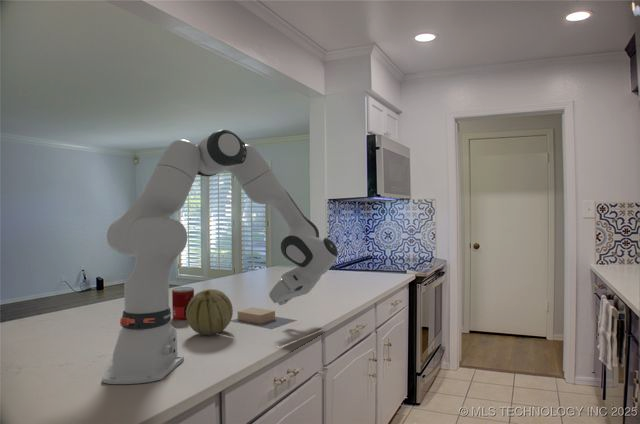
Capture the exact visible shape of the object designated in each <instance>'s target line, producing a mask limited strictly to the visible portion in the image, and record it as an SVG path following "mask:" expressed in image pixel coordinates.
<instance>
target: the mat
mask: <svg viewBox="0 0 640 424" xmlns="http://www.w3.org/2000/svg"><path fill="white" fill-rule="evenodd" d="M296 321H297V320H296V319H291V318H287V317H279V316H275V319H274V320H271V321H268V322H265V323H262V324H258V323H253V322H248V321H242V320H238V318H234V319H231V321H230V323H238V324H243V325H246V326H247V325H249V326H253V327H258V328H263V329H270V330H274V329H276V328H279V327H282V326H285V325H287V324H290V323H294V322H296Z"/></svg>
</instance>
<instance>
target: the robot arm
mask: <svg viewBox="0 0 640 424" xmlns="http://www.w3.org/2000/svg"><path fill="white" fill-rule="evenodd" d="M224 171H228V172H229V173H231V174H232V175H233V176H234V177H235V178H236V180H237V182H238V183H239V186H240V187H241V189H242V190H243V192H244V194H245V195H246V196H247V197H248V199H250V201H252V202H254V203H256V204H259V205H269V206H273V208H275V209H276V210H277V211H278V213H279V215H280V216H282V218H283V220H284V221H285V223H286V224H287V225H288V228H289V231H288V233H287V234H286V235H285V237H283V239H282V240H281V242H280V251H281V254H282V256H283V257H284V258H285V259H286V260H288V261H289V262H290V263H293V264H294V265H295V266H294V267H293V268H292V269H289V270H287V271H286V272H284V273H283V274H282V275H281V277H280V278H281V279H280V280H278V281H277V282H276V284H275V285H274V286H273V288H272V289H271V290H270V292H269V294H268V296H269V298H270V299H271V301H272V302H273V303H274V304H277V303H278V305H279V306H283V305H286V304H287V303H288V302H289V301H291V300H292V299H294V298H297V297H301V296H304V295H307V294H308V293H310V292H311V291H312V289H314V287H315V286H316V285H317V283H318V282H319V281H320V279H321V277H322V276H324V275H325V274H326V273H328V271H329V270H330V268H331V267H332V266H333V265H334V263H335V262H336V260H337V259H338V256H339V254H338V253H339V252H338V249H337V248H338V247H337V245H336V244H335V242H334V241H332V240H331V239H330V238H328V237H320V232H319V229H318V227H317V226H316V224H314V222H313V221H311V220H310V219H308V218H307V216H305V215H304V214H303V213H302V210H300V208H299V207H298V205H297V204H296V203H295V201H294V199H293V198H292V197H291V196H290V194H289V192H288V191H287V190H286V189H285V188H284V186H283V185H282V184H281V183H280V182H279V180H278V178H277V176H276V175H275V174H274V172H273V171H272V169H271V167H270V165H269V164H268V162H267V161H266V159H265V158H264V156H262V154H261V153H260V152H259V151H258V150H257V148H256V147H254V146H253V145H251V144H245V142H244V141H243V140H242V139H241V138H240V137H239V136H238V135H237V134H236V133H235V132H232V131H231V130H230V129H229V130H228V129H220V130H216V131H214V132H213V133H211V134H210V135H208V136H207V137H205V138H203V139H202V140H201V141H200V142H198V143H197V144H196V143H193V142H192V141H189V140H187V139H176V140H174V141H172V142H171V143H170V144H169V145H168V146H167V148H166V150H165V151H164V152H163V153H162V156H161V157H160V159H159V160H158V162H157V164H156V165H155V167H154V170H153V171H152V174H151V176H150V177H149V180H148V182H147V183H146V185H145V187H144V189H143V191H142V192H141V194H140V195H139V196H138V197H137V199H136V200H135V202H133V204H132V205H131V206H130V207H129V209H128V210H126V212H125V213H123V215H122V216H121V217H119V218H117V219H116V220H115V221H113V222H112V223H111V224H110V225H109V226H108V229H107V233H106V239H107V240H106V241H107V243H108V246H109V247H110V249H112V250H113V251H115V252H117V253H118V254H121V255H123V256H127V257H135V262H134V266H133V269H132V271H131V273H130V275H128V276H127V278H126V279H125V281H124V284H123V285H124V288H123V289H124V290H123V292H124V294H123V295H124V304H123V305H124V309H123V310H122V315H121V318H120V320H119V323H120V326H121V327H122V328H121V329H120V330H119V332H118V336H117V340H116V342H115V347H114V350H113V354H112V358H111V359H110V360H109V363H108V364H107V367H106V370H105V372H104V373H103V375H102V378H101V382H102V383H103V384H111V385H135V384H143V383H152V382H157V381H161V380H162V379H164V378H165V377H166V376H167V375H168V374H169V373H171V372H172V371H173V370H174V369H176V367H178V366H179V365H180V364H181V363H182V362H184V360H185V357H184V355H182V354H179V352H178V335H177V328H175V327H174V326H173V325H172V324H171V316H172V312H171V307H170V306H169V303H170V301H169V296H170V295H169V294H170V290H169V289H170V278H171V272H172V270H173V266H174V264H175V261H176V259H177V258H178V256H179V255H180V254H181V253H182V252H184V250H185V248H186V247H187V243H188V232H187V229H186V227H185V225H184V224H183V223H182V222H180V221H178V220H177V219H174V218H171V217H172V216H173V215H174V214H176V213H177V212H178V211H180V210H181V209H182V208H183V206H184V205H185V203H186V201H187V199H188V196H189V193H190V191H191V189H192V187H193V184H194V183H195V180H196V178H197V175H198V176H201V177H208V178H209V177H213V176H217V174H219V173H221V172H224Z"/></svg>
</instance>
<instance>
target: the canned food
mask: <svg viewBox="0 0 640 424" xmlns="http://www.w3.org/2000/svg"><path fill="white" fill-rule="evenodd" d="M171 293H172V294H171V295H172V296H171V298H172V299H171V301H172V302H171V306H172V308H171V309H172V312H171V313H172V319H174V320H175V321H176V320H177V321H186V320H187V318H186V309H187V306H188V304H189V302H190V300H191V299H192V298H193V297H194V296H195V288H194V287H192V286H191V287H190V286H180V287H179V286H178V287H174V288H172V290H171Z"/></svg>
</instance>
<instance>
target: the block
mask: <svg viewBox="0 0 640 424" xmlns="http://www.w3.org/2000/svg"><path fill="white" fill-rule="evenodd" d="M275 317H276V310H271V309H265V308H259V307H254V306H253V307H252V306H251V307H249V308H246V309H241V310H238V311H237V319H238V320H242V321H248V322H253V323H258V324H262V323H265V322H268V321H271V320H274V319H275Z"/></svg>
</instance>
